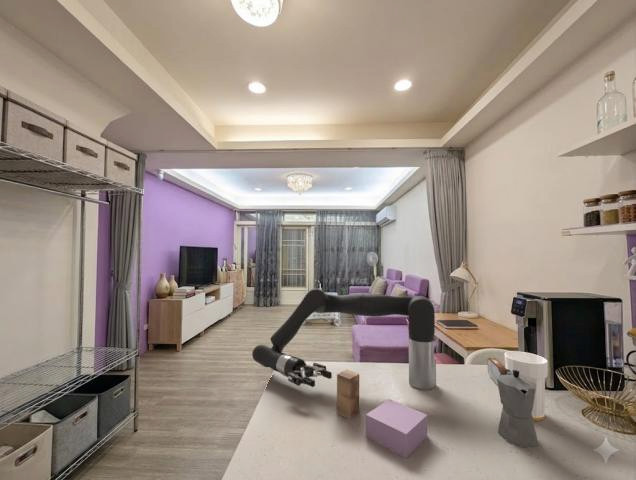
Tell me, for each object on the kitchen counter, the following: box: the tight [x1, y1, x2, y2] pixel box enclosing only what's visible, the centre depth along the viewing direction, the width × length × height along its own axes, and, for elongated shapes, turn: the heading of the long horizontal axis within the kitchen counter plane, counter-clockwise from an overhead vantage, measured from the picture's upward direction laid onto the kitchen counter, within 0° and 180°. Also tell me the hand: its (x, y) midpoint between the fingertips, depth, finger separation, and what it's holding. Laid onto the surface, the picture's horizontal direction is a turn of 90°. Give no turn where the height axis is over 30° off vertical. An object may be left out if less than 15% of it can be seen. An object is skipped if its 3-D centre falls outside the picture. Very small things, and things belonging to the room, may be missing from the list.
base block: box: [365, 398, 428, 459], centre depth 80 cm, size 12×12×6 cm
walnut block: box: [336, 369, 360, 420], centre depth 91 cm, size 5×5×12 cm
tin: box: [486, 357, 507, 386], centre depth 113 cm, size 15×3×8 cm, turn 168°
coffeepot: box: [497, 369, 538, 448], centre depth 81 cm, size 15×9×18 cm, turn 162°
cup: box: [504, 350, 549, 422], centre depth 93 cm, size 11×11×17 cm
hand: (322, 379), depth 99 cm, fingers open, 8 cm apart
